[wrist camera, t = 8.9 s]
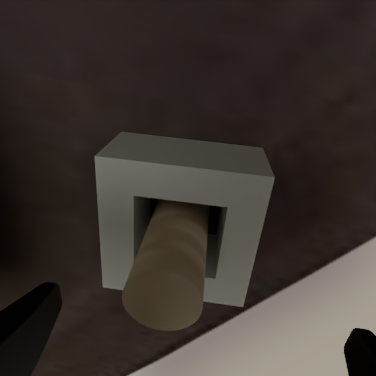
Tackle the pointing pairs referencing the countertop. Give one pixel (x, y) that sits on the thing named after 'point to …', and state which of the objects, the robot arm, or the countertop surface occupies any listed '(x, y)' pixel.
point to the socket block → (184, 192)
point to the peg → (169, 268)
